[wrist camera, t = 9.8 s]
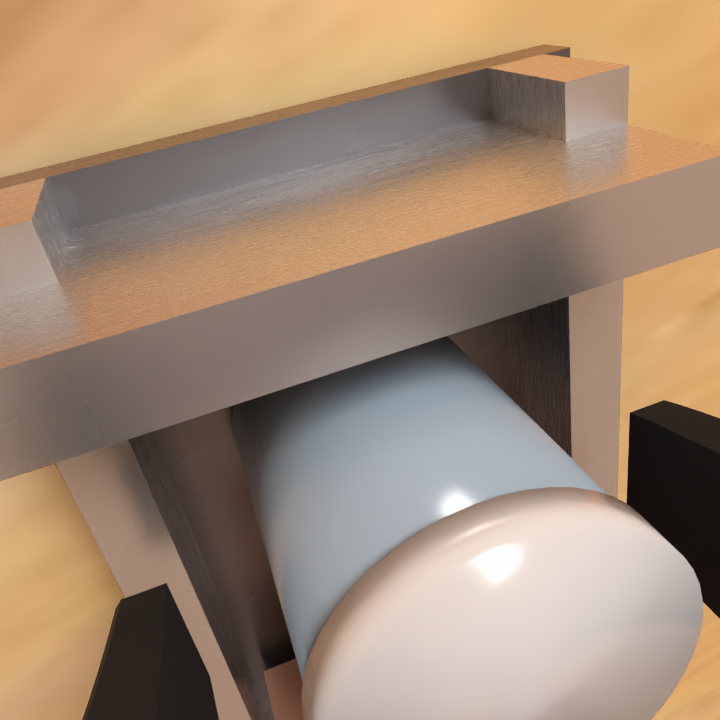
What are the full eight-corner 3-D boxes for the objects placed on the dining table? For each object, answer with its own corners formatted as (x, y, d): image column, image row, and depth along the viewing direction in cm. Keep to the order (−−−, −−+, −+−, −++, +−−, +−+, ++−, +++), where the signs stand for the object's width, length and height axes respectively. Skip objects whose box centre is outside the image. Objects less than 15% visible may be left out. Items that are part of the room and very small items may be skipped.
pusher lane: (566, 743, 23) (668, 908, 19) (284, 873, 21) (328, 1088, 17) (543, 44, 12) (778, 71, 8) (-54, 191, 10) (-167, 330, 6)
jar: (477, 461, 15) (692, 730, 9) (266, 542, 14) (365, 889, 9) (448, 259, 12) (716, 462, 7) (190, 342, 12) (262, 649, 6)
